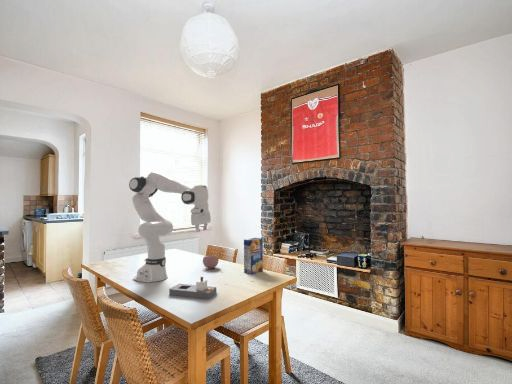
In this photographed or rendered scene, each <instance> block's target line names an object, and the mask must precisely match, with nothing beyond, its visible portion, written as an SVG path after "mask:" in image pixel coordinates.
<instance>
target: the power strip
mask: <svg viewBox="0 0 512 384" xmlns="http://www.w3.org/2000/svg"><path fill="white" fill-rule="evenodd" d="M168 294H169V295H168V296H171V297H178V298H179V297H180V298H190V299H196V300H210V299H211V298H213V297H214V296H215V295H216V294H217V287H216V286H209V285H207V289H206V290H205V291H198V290H196V284H187V283H186V284H185V283H177V284H176V285H174V286H172V287H171V288H169V290H168Z"/></svg>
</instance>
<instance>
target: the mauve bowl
mask: <svg viewBox="0 0 512 384" xmlns="http://www.w3.org/2000/svg"><path fill="white" fill-rule="evenodd" d="M219 262H220V260H219V258H218V257H217V256H213V255H212V253H211V252H210V253H208V255H206V256H203V258H202V264H203V266H204V268H206V269H214V268H216V267H217V266H218V264H219Z"/></svg>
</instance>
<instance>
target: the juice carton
mask: <svg viewBox="0 0 512 384" xmlns="http://www.w3.org/2000/svg"><path fill="white" fill-rule="evenodd" d="M263 243H264V241H263V238H260V237H253V238H245V239H243V274H246V275H247V274H249V275H255V274H258V273H261V272H263V270H264V269H263V268H264V265H263V264H264V263H263V262H264V261H263V260H264V258H263V256H264V255H263V249H264V248H263Z"/></svg>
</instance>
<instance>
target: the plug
mask: <svg viewBox="0 0 512 384" xmlns="http://www.w3.org/2000/svg"><path fill="white" fill-rule="evenodd" d="M195 285H196V290H198V291H205V290H206V289H207V286H208V280H207V279H204V277H203V276H200V279H199V280H196V283H195Z"/></svg>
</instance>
